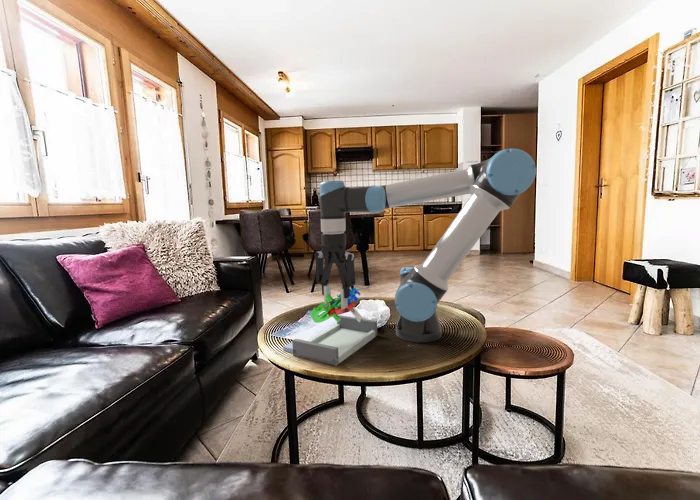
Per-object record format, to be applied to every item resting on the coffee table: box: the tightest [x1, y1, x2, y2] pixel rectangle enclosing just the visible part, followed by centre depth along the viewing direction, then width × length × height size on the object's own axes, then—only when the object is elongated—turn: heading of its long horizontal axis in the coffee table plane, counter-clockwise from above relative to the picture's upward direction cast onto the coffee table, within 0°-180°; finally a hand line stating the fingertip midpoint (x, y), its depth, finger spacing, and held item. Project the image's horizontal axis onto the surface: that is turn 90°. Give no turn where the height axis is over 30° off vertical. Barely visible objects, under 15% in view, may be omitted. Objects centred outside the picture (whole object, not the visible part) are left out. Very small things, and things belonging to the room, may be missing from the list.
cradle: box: [291, 314, 378, 367], centre depth 114 cm, size 15×26×5 cm, turn 150°
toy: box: [310, 287, 364, 324], centre depth 113 cm, size 20×10×11 cm
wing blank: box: [282, 338, 306, 354], centre depth 112 cm, size 7×4×2 cm, turn 147°
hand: (336, 306), depth 112 cm, fingers closed on toy, 5 cm apart
